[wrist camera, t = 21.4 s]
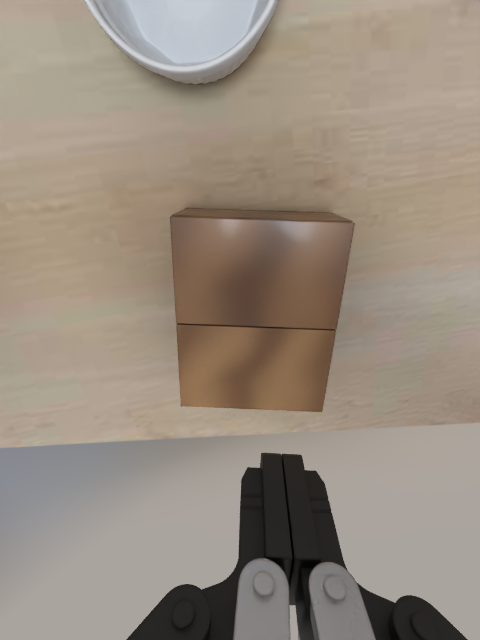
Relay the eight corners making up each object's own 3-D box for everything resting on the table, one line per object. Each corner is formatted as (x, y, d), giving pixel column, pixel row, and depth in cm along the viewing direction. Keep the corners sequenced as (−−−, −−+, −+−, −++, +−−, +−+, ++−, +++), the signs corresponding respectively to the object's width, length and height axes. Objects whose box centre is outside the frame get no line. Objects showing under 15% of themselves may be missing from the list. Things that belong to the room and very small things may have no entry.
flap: (335, 329, 27) (336, 330, 27) (321, 410, 31) (322, 412, 31) (177, 323, 28) (176, 324, 27) (181, 404, 31) (181, 406, 31)
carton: (332, 212, 30) (355, 222, 23) (309, 371, 37) (322, 412, 31) (186, 207, 30) (169, 215, 24) (192, 367, 38) (180, 406, 31)
